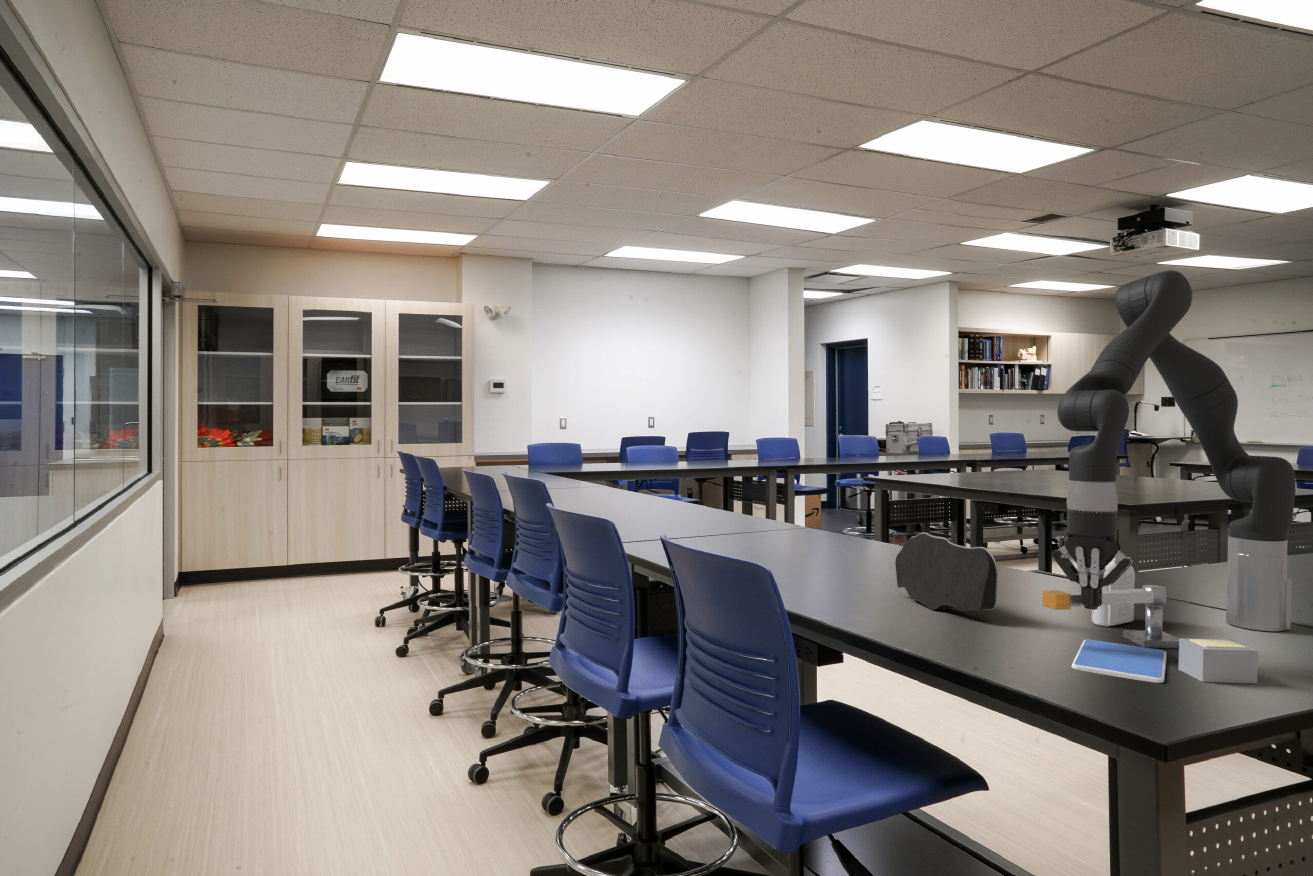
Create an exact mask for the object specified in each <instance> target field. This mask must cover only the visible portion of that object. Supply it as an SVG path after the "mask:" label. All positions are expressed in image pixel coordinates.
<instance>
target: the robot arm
mask: <svg viewBox="0 0 1313 876" xmlns="http://www.w3.org/2000/svg"><path fill="white" fill-rule="evenodd" d="M1114 295H1115V297H1114V303H1115V305H1116V306H1115V307H1116V310H1117V313H1118V316H1119V317H1120V319H1121V320H1122V322H1123V324H1124V325H1125V327H1126V328H1125V329H1124V330H1123V331H1122V332H1120V333H1119V334H1118V335H1117V336H1115V337H1114V338H1113V339H1112V340H1111V341H1110V342H1109V343H1108V344H1107V345H1106V346H1105V347H1104V348H1103V349H1102V351H1101V352H1100V353H1099V355H1098V357H1097V359H1096V360H1095V362H1094V363H1093V365H1092V367H1091V369H1090V371H1089V372H1087V373H1086V374H1084V375H1083V376H1082V377H1081V378H1080V379H1079V380H1077V381H1076V382H1075V383H1074V384H1072V386H1070V387H1069V388H1068V389H1067V390H1065V391H1066V392H1064V394H1063V395H1062V397H1061V399H1060V400H1059V403H1058V404H1057V405H1058V406H1057V418H1058V422H1059V423H1060V425H1061V426H1062V427H1063V428H1064V429H1066V430H1068V431H1072V432H1097V435H1096V436H1095V439H1094V440H1093V442H1091V443H1090V444H1089V443H1088V444H1084V445H1078V446H1075V447H1073V448H1071V450H1070V452H1069V456H1068V488H1067V493H1066V494H1067V495H1066V496H1067V498H1066V534H1067V535H1066V539H1065V540H1064V543H1063V546H1061V547H1060V548H1057V549H1055V550H1053V551H1051V557H1052V558H1053V559H1054V561H1055V562H1056V563H1057V565H1058V566H1059V567H1060V569H1061V570H1062V572H1063V573H1064V574H1065V576H1066V577H1067V578H1068V580H1069V581H1070V582H1075V583H1077V584H1078V585H1079V586H1080V590H1081V603H1082V605H1085V606H1084V609H1087V610H1091V611H1092V610H1096V609H1098V607H1099V606H1101V604H1102V588H1103V586H1108V585H1111V584H1113V583H1114V582H1115V581H1116V580H1117V579H1118V578H1119V577H1120V576H1121V575H1122V574H1123V573H1124V572H1125V571H1126V570H1127V569H1128V568H1129V567H1130V566H1132V565H1133V564H1135V559H1134V557H1131V556H1128V555H1126V554H1125V553H1124V552H1122V550H1121V545H1120V544H1119V541H1118V500H1119V499H1118V489H1117V482H1116V481H1117V456H1118V452H1119V448H1120V444H1121V441H1122V437H1123V434H1124V431H1125V428H1126V426H1127V422H1128V419H1129V415H1130V405H1129V402H1128V400H1127V398H1126V397H1125V396H1126V395H1127V394H1128V393H1129V392H1130V390H1131V389H1132V387H1133V386H1134V384H1135V382H1136V380H1137V379H1138V376H1139V375H1140V373H1141V371H1142V369H1143V367H1144V366H1145V364H1146V362H1147V361H1148V359H1150V361H1151V362H1152V364H1153V366H1154V367H1155V368H1156V370H1157V371H1158V373H1159V374H1160V376H1161V378H1162V379H1163V381H1164V383H1165V385H1166V387H1167V389H1168V390H1169V393H1170V394H1171V396H1172V398H1173V399H1174V401H1175V403H1176V404H1177V406H1178V407H1179V409H1180V411H1181V413H1182V414H1183V415H1184V417H1185V418H1186V421H1187V422H1188V424H1189V426H1190V428H1191V429H1192V431H1193V433H1194V434H1195V436H1196V439H1197V440H1198V442H1199V443H1200V445H1201V447H1202V449H1203V451H1204V453H1205V455H1206V458H1207V460H1208V463H1209V465H1210V467H1211V469H1212V472H1213V475H1214V477H1215V479H1216V481H1217V483H1218V486H1219V487H1220V489H1221V490H1222V491H1223V493H1224V494H1225V495H1226V496H1227V497H1229V498H1230V499H1233V500H1234V501H1239V502H1244V503H1252V504H1251V511H1250V513H1249V514H1248V515H1246V516H1244V517H1243V518H1238V519H1236V520H1232V521H1231V522H1229V523H1228V533H1227V535H1228V537H1227V568H1226V569H1227V571H1226V575H1227V577H1226V610H1225V612H1226V613H1225V615H1226V616H1225V621H1226V623H1227V624H1229V625H1232V626H1233V627H1238V628H1242V629H1248V630H1254V631H1264V632H1283V631H1287V630H1290V631H1292V630H1291V629H1292V605H1293V604H1292V603H1293V602H1292V600H1293V598H1292V597H1293V581H1292V580H1291V579H1288V578H1287V577H1288V574H1287V573H1288V541H1289V540H1288V538H1289V532H1290V529H1291V527H1292V525H1293V522H1294V521H1293V520H1294V509H1295V500H1296V499H1295V498H1296V490H1297V489H1296V488H1297V482H1296V473H1295V469H1294V468H1293V466H1292V464H1291V463H1290V461H1288V460H1287V459H1286V458H1283V457H1279V456H1269V455H1268V456H1267V455H1266V456H1265V455H1250V454H1248V453H1247V452H1246V451H1245V450H1244V448H1243V446H1242V445H1241V443H1240V442H1239V439H1238V437H1237V435H1236V433H1235V423H1236V418H1237V414H1238V406H1239V403H1238V402H1239V399H1238V396H1237V392H1236V391H1235V389H1234V386H1233V385H1232V383H1231V382H1230V380H1229V379H1228V376H1227V375H1226V372H1225V371H1224V370H1223V368H1222V367H1221V366H1220V365H1219V364H1218V363H1216V362H1215V361H1213V360H1212V359H1211V358H1209V357H1207V356H1206V355H1204V354H1202V353H1200V351H1199V352H1198V351H1197V350H1195V349H1193V348H1191V347H1189V346H1187V345H1185V344H1184V343H1182V342H1181V341H1179V340H1178V339H1176V338H1175V337H1174V336H1173V335H1172V334H1171V332H1172V330H1173V329H1174V328H1175V327H1176V326H1177V325H1178V323H1179V322H1181V320H1183V318H1184V317H1185V316H1186V314H1188V311H1189V310H1190V308H1191V306H1192V303H1193V291H1192V287H1191V285H1190V281H1189V280H1188V279H1187V277H1186V276H1185V275H1184V274H1183V273H1181V272H1179V271H1178V270H1177V271H1176V270H1164V271H1163V270H1162V271H1159V272H1157V273H1153V274H1150V275H1148V276H1144V277H1141V278H1138V279H1136V280H1133V281H1130V282H1127V283H1124V284H1122V285H1120V286H1119V288H1117V290H1116V292H1115V294H1114ZM1070 556H1071V558H1072V560H1073V561H1074V562H1075V563H1076V565H1077V568H1076V566H1075V564H1073V562H1072V561H1071V560H1070ZM1112 560H1115V565H1117V566H1116V567H1115V568H1114V569H1113V570H1112V571H1111V572H1110V573H1109V574H1108V575H1107V576H1106V577H1105V578H1104V573H1105V569H1106V566H1107V565H1108V564H1109V563H1110V562H1111V561H1112Z"/></svg>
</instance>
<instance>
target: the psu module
mask: <svg viewBox="0 0 1313 876" xmlns="http://www.w3.org/2000/svg"><path fill="white" fill-rule="evenodd" d="M1178 638H1179V648H1178V671H1180V672H1183V674H1184V673H1185V674H1187V675H1188V676H1191V678H1194V679H1196V680H1198V681H1199V682H1201V683H1202V682H1203V683H1229V684H1230V683H1233V684H1237V683H1238V684H1258V669H1259V665H1258V663H1259V650H1257V649H1255V648H1253V647H1250V646H1247V645H1245V644H1243V643H1241V642H1238V641H1235V640H1233V639H1225V638H1221V639H1220V638H1219V639H1218V638H1215V639H1214V638H1213V639H1212V638H1182V637H1181V638H1180V637H1178Z"/></svg>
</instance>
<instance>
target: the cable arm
mask: <svg viewBox="0 0 1313 876" xmlns="http://www.w3.org/2000/svg"><path fill="white" fill-rule="evenodd" d="M1167 589H1168V588H1167V587H1165V586H1163V585H1157V584H1144V585H1142V588H1134V589H1123V590H1102V604H1101V605H1117V604H1134V605H1135V604H1144V605H1146V604H1148V605H1154V606H1163V607H1164V606H1167ZM1041 605H1042V607H1045V608H1049V609H1051V610H1055V611H1060V610H1063V611H1064V610H1071V609H1072V608H1073V607H1076V608H1077V607H1085V605H1082V603H1081V591H1065V592H1064V591H1061V590H1057V589H1056V590H1055V589H1054V590H1042V604H1041Z"/></svg>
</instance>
